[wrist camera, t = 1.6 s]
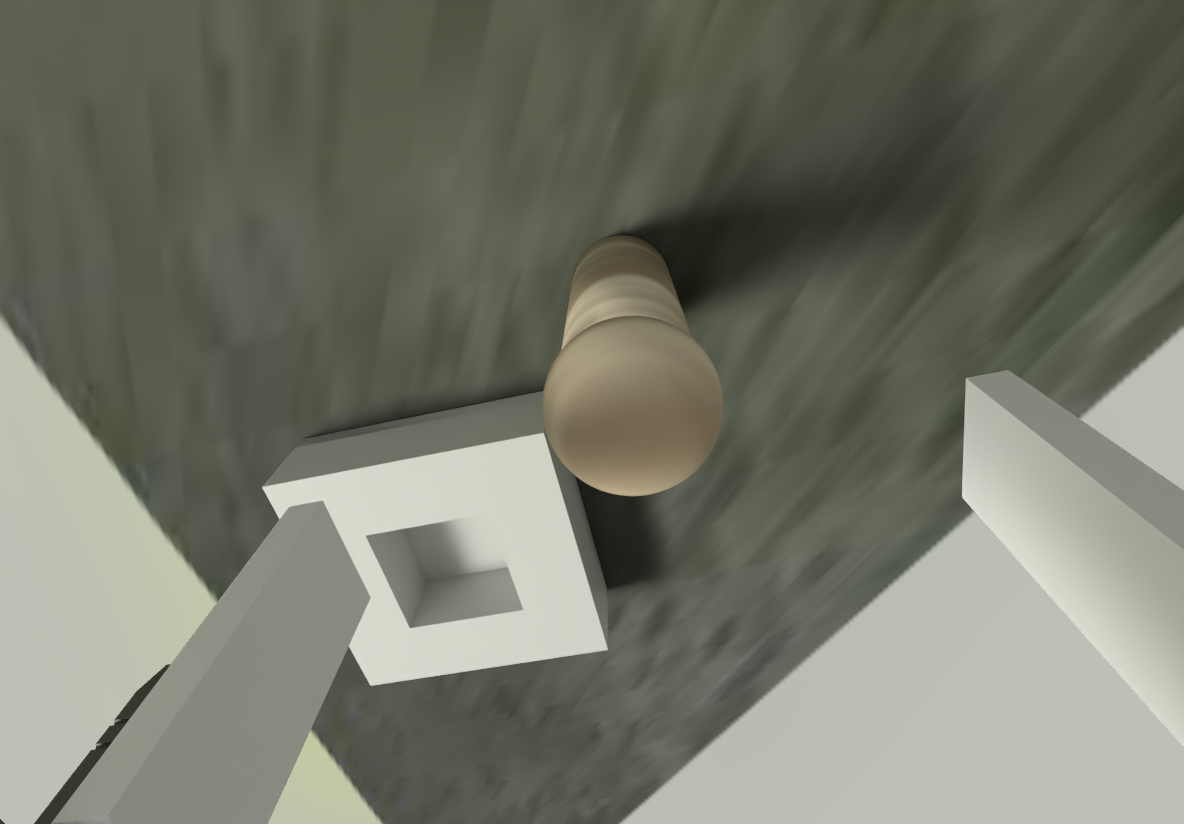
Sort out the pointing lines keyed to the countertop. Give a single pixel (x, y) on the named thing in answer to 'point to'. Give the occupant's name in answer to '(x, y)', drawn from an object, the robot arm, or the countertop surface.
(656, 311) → the pestle
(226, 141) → the countertop surface
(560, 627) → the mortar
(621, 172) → the countertop surface
